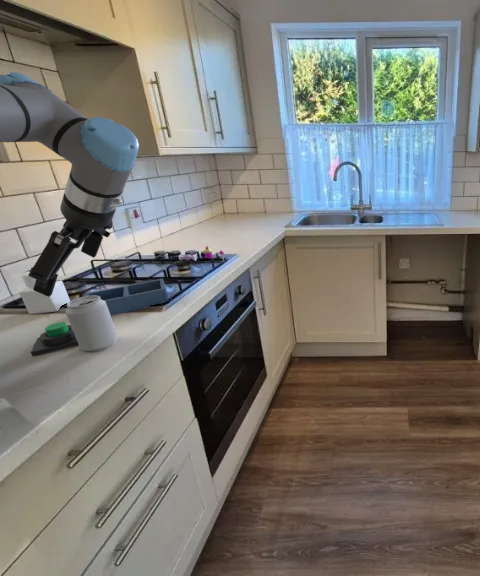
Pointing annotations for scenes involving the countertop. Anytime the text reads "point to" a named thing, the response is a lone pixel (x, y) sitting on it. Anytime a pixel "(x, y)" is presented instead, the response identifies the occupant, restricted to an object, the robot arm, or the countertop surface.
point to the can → (91, 323)
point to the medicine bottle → (42, 296)
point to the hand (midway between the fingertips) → (67, 271)
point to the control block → (54, 342)
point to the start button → (56, 329)
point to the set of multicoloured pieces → (188, 257)
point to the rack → (133, 296)
